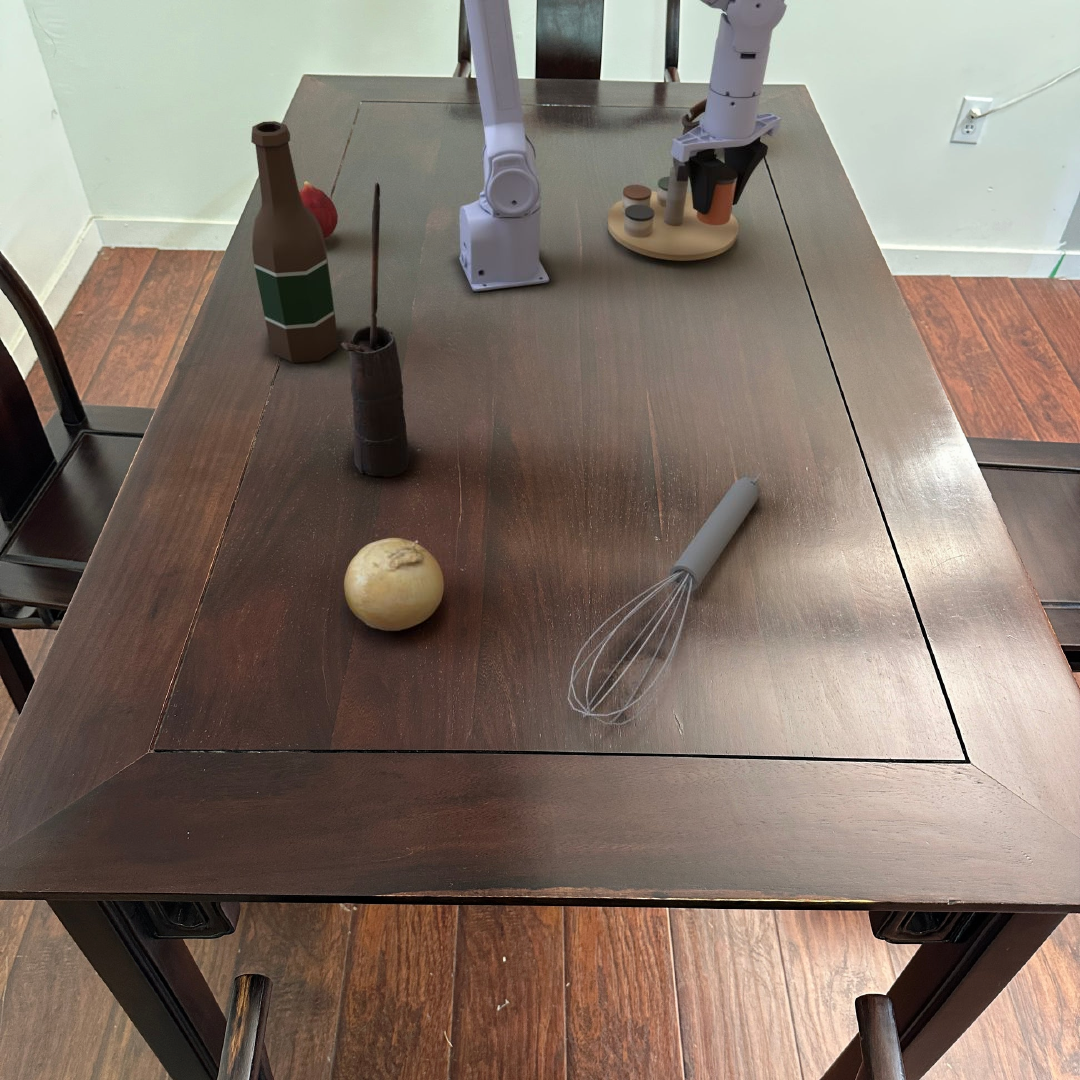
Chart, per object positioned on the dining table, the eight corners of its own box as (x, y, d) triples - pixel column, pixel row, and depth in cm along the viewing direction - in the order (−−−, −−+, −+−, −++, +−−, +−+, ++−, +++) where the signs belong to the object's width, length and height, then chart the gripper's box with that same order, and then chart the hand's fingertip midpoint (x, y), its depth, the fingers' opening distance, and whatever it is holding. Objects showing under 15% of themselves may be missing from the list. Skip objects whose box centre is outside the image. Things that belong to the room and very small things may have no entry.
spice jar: (730, 227, 114) (738, 182, 110) (695, 223, 114) (702, 179, 110) (730, 210, 117) (738, 166, 113) (696, 207, 117) (703, 163, 113)
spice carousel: (745, 263, 120) (760, 190, 113) (609, 258, 120) (616, 184, 113) (729, 199, 132) (741, 129, 125) (605, 194, 132) (611, 124, 125)
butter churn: (338, 510, 89) (292, 228, 69) (315, 446, 95) (266, 170, 75) (434, 487, 91) (416, 208, 71) (405, 426, 97) (382, 154, 77)
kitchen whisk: (783, 496, 92) (798, 445, 87) (621, 761, 71) (629, 713, 67) (724, 473, 94) (735, 422, 89) (549, 724, 74) (552, 675, 69)
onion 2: (378, 660, 77) (369, 602, 72) (331, 598, 81) (320, 539, 76) (462, 616, 80) (460, 558, 75) (413, 558, 85) (408, 500, 80)
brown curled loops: (739, 171, 141) (718, 120, 136) (686, 181, 148) (664, 133, 143) (771, 122, 146) (752, 72, 141) (718, 134, 153) (698, 86, 148)
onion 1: (345, 233, 124) (338, 173, 118) (334, 256, 120) (326, 194, 114) (301, 230, 124) (291, 169, 119) (288, 252, 120) (277, 191, 115)
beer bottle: (326, 369, 104) (293, 149, 86) (258, 359, 104) (211, 138, 87) (350, 330, 109) (323, 114, 92) (285, 320, 110) (246, 105, 93)
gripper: (759, 63, 110) (738, 178, 120) (660, 88, 104) (646, 206, 114) (803, 84, 106) (777, 201, 116) (703, 111, 100) (684, 232, 110)
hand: (715, 206), depth 115 cm, fingers closed on spice jar, 4 cm apart
